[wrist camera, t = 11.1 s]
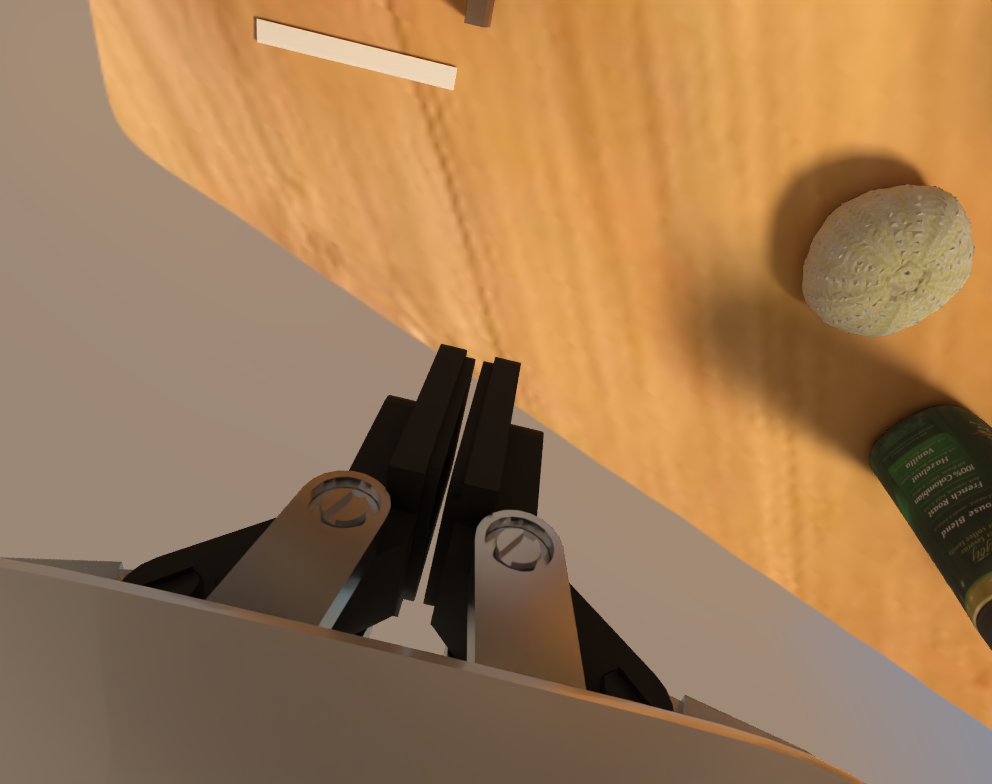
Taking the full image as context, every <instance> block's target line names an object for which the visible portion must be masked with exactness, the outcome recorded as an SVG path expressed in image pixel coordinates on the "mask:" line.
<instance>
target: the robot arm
mask: <svg viewBox="0 0 992 784" xmlns="http://www.w3.org/2000/svg"><path fill="white" fill-rule="evenodd" d="M466 355H467V350H465V349H461V348H457V347H453V346H448V345H444V344H441V345H440V348H439V350H438V352H437V355H436V357H435V359H434V362H433V364H432V366H431V369H430V371H429V373H428V376H427V378H426V380H425V383H424V385H423V387H422V389H421V392H420V394H419V396H418V399H417V401H412V400H409V399H404V398H400V397H396V396H392V395H389V396H387V398H386V400H385V401H384V403H383V405H382V407H381V409H380V411H379V413H378V415H377V417H376V419H375V421H374V423H373V425H372V427H371V429H370V431H369V433H368V434H367V437H366V438H365V440H364V442H363V444H362V446H361V448H360V450H359V452H358V454H357V456H356V458H355V460H354V462H353V464H352V466H351V468H350V470H349V471H334V472H329V473H324V474H322V475H320V476H317V477H315V478H313V479H312V480H311V481H309V482H308V483H307V484H306V485H305V486H303V488H302V489H301V490H300V491H299V492H298V494H297V495H296V496H295V497H294V498H293V499H292V500H291V501H290V503H289V504H288V505H287V506H286V507H285V508H284V510H283V511H282V512H281V513H280V514H279V515H278V516H277V518H274V519H271V520H268V521H265V522H262V523H259V524H256V525H253V526H250V527H247V528H244V529H241V530H238V531H235V532H232V533H229V534H226V535H223V536H220V537H217V538H214V539H211V540H208V541H205V542H202V543H199V544H196V545H193V546H190V547H187V548H184V549H181V550H178V551H175V552H172V553H169V554H166V555H163V556H160V557H157V558H155V559H152V560H150V561H148V562H146V563H144V564H141V565H140V566H138V567H137V568H136V569H134V570H126V569H125V570H124V569H123V565H122V562H113V561H85V560H57V559H30V558H2V557H0V784H866V783H864V782H862V781H861V780H859V779H858V778H856V777H854V776H852V775H851V774H849V773H847V772H845V771H843V770H841V769H839V768H837V767H835V766H832V765H830V764H829V763H827V762H824V761H822V760H820V759H818V758H816V757H815V756H813V755H812V754H810V753H809V752H807V751H805V750H803V749H801V748H799V747H797V746H795V745H793V744H790V743H788V742H786V741H784V740H782V739H780V738H778V737H775V736H773V735H771V734H769V733H766V732H764V731H762V730H760V729H758V728H756V727H754V726H751V725H749V724H747V723H745V722H743V721H741V720H739V719H736V718H734V717H732V716H730V715H728V714H726V713H723V712H721V711H719V710H717V709H715V708H712V707H710V706H708V705H706V704H704V703H702V702H700V701H697V700H695V699H693V698H691V697H689V696H687V695H685V696H684V697H683V699H682V700H681V701H680V700H678V699H676V698H674V697H671V696H669V695H668V693H667V690H666V689H665V687H664V686H663V684H662V683H661V682H660V680H659V679H658V678H657V676H656V675H655V674H654V673H653V672H652V671H651V670H650V669H649V668H648V666H647V665H646V664H645V663H644V662H643V661H642V660H641V659H640V658H639V657H638V656H637V655H636V654H635V653H634V652H633V651H632V649H631V648H630V647H629V646H628V645H627V644H626V643H625V642H624V641H623V640H622V639H621V638H620V637H619V635H618V634H617V633H616V632H615V631H614V630H613V629H612V628H611V627H610V626H609V625H608V624H607V623H606V622H605V621H604V619H602V617H601V616H600V615H599V614H598V613H597V612H596V611H595V610H594V609H593V608H592V607H591V606H590V604H589V603H587V602H586V600H585V599H584V598H583V597H582V596H581V595H580V594H579V593H578V592H577V591H576V590H575V589H574V587H573V586H572V585H571V584H570V583H569V580H568V573H567V567H566V561H565V555H564V548H563V545H562V542H561V540H560V537H559V536H558V534H557V533H556V532H555V531H554V529H553V528H552V527H551V526H550V525H549V524H547V523H546V522H545V521H544V520H542V519H540V518H539V517H537V509H538V497H539V484H540V473H541V460H542V449H543V434H544V433H543V432H541V431H538V430H533V429H529V428H525V427H521V426H516V425H513V424H511V419H512V413H513V407H514V401H515V395H516V389H517V383H518V377H519V371H520V366H521V363H519V362H515V361H511V360H506V359H502V358H498V357H495V361H494V363H489V362H485V361H484V362H483V365H482V369H481V372H480V376H479V379H478V383H477V387H476V390H475V394H474V398H473V401H472V405H471V408H470V412H469V415H468V419H467V422H466V426H465V430H464V433H463V437H462V440H461V444H460V447H459V451H458V454H457V458H456V461H455V465H454V469H453V472H452V476H451V481H450V485H449V489H448V493H447V497H446V502H445V507H444V511H443V515H442V521H441V525H440V529H439V534H438V538H437V543H436V548H435V552H434V557H433V561H432V566H431V570H430V575H429V580H428V585H427V589H426V593H425V598H424V604H427V605H431V606H435V607H434V611H433V615H432V620H431V625H432V626H433V628H434V629H435V630H436V632H437V633H438V635H439V636H440V637H441V639H442V640H443V642H444V643H445V645H446V646H445V650H444V655H443V656H442V655H438V654H434V653H429V652H425V651H421V650H417V649H413V648H408V647H403V646H400V645H396V644H391V643H387V642H383V641H378V640H374V639H370V635H371V632H372V627H373V625H375V624H377V623H379V622H381V621H383V620H385V619H387V618H389V617H391V616H396V617H398V614H399V611H400V608H401V604H402V601H403V599H406V600H411V601H414V600H415V597H416V593H417V590H418V586H419V582H420V579H421V576H422V572H423V568H424V565H425V562H426V558H427V554H428V551H429V547H430V544H431V540H432V537H433V533H434V530H435V526H436V523H437V519H438V515H439V512H440V509H441V505H442V501H443V498H444V495H445V491H446V488H447V484H448V481H449V477H450V473H451V469H452V465H453V461H454V457H455V452H456V448H457V443H458V438H459V433H460V429H461V424H462V420H463V416H464V411H465V406H466V402H467V397H468V392H469V388H470V383H471V378H472V374H473V370H474V365H475V359H473V358H469V357H466Z"/></svg>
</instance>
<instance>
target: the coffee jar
mask: <svg viewBox="0 0 992 784" xmlns="http://www.w3.org/2000/svg"><path fill="white" fill-rule="evenodd" d="M869 459H870V465H871V467H872V469H873V471H874V473H875V474H876V476H877V477H878V479H879V480H880V482H881V483H882V485H883V487H884V488H885V490H886V491H887V492H888V494H889V495H890V497H891V498H892V500H893V501H894V503H895V504H896V506H897V507H898V509H899V510H900V512H901V513H902V515H903V516H904V518H905V519H906V521H907V522H908V524H909V525H910V527H911V528H912V530H913V531H914V533H915V534H916V536H917V538H918V539H919V541H920V542H921V544H922V545H923V547H924V548H925V550H926V551H927V553H928V554H929V556H930V557H931V559H932V561H933V562H934V563H935V565H936V566H937V568H938V570H939V571H940V573H941V574H942V576H943V577H944V579H945V581H946V582H947V584H948V585H949V586H950V588H951V589H952V591H953V592H954V594H955V595H956V597H957V599H958V600H959V602H960V603H961V605H962V607H963V608H964V610H965V611H966V613H967V615H968V616H969V618H970V620H971V621H972V623H973V625H974V626H975V628H976V630H977V631H978V632H979V633H980V635H981V636H982V638H983V639H984V640H985V642H986V643H987V645H988V646H989V647H990V649H991V650H992V428H991V427H990V426H989V425H988V424H987V423H985V422H984V421H983V420H982V419H980V418H979V417H977V416H976V415H974V414H973V413H971V412H969V411H967V410H966V409H963V408H961V407H958V406H952V405H942V406H935V407H931V408H927V409H925V410H922V411H920V412H918V413H915V414H913V415H911V416H909V417H907V418H906V419H904V420H902V421H900V422H898V423H897V424H896V425H895V426H893V427H892V428H890V429H889V430H888V431H887V432H886V433H885V434H884V435H883V436H882V437H881V438H880V439H879V440H878V441H877V442H876V443H875V445H874V446H873V448H872V450H871V452H870V458H869Z"/></svg>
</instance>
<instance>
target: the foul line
mask: <svg viewBox="0 0 992 784" xmlns="http://www.w3.org/2000/svg"><path fill="white" fill-rule="evenodd" d="M257 42H259V43H263V44H267V45H271V46H275V47H279V48H283V49H287V50H291V51H296V52H300V53H304V54H308V55H312V56H316V57H320V58H324V59H328V60H332V61H336V62H340V63H344V64H348V65H352V66H357V67H361V68H365V69H369V70H373V71H377V72H381V73H385V74H389V75H393V76H397V77H401V78H405V79H409V80H413V81H418V82H422V83H426V84H430V85H434V86H438V87H442V88H446V89H450V90H454V85H455V79H456V72H457V68H456V67H452V66H448V65H444V64H440V63H436V62H432V61H428V60H424V59H420V58H416V57H412V56H408V55H403V54H399V53H395V52H391V51H387V50H383V49H379V48H375V47H371V46H367V45H363V44H359V43H355V42H351V41H347V40H343V39H339V38H334V37H330V36H326V35H322V34H318V33H314V32H310V31H306V30H302V29H298V28H294V27H290V26H286V25H282V24H278V23H274V22H270V21H266V20H261V19H257Z"/></svg>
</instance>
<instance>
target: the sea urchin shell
mask: <svg viewBox="0 0 992 784" xmlns="http://www.w3.org/2000/svg"><path fill="white" fill-rule="evenodd" d="M974 250H975V247H974V243H973V238H972V234H971V222H970V219H969V218H968V216H967V214H966V212H965V210H964V209H963V208H962V206H961V205H960V203H959V201H958V200H957V197H954V196H953V195H952V194H951V193H948V192H946V191H944V190H943V189H941V188H939V187H938V188H937V187H936V186H932V187H931V186H917V185H909V184H906V185H900V186H895V187H891V188H886V189H879V188H878V189H876V190H870V191H869V192H867V193H865V194H861V196H859V197H856V198H854V199H852V200H849V201H847V202H845V203H842V204H841V206H840V207H838V208H837V209H836V210H834V211H833V212H832V213H831V214H830V215H829V216H828V217H827V219H826V220H825V222H824V224H823V225H822V227H821V228H820V229H819V231H818V232H817V234H816V235H815V237H814V238H813V240H812V243H811V244H810V250H809V253H808V255H807V258H806V259H805V260H804V265H803V281H802V291H803V295H804V298H805V301H806V303H807V304H808V305H809V307H810V309H811V310H812V311H813V312H815V313H816V314H817V315H818V317H819V318H820V319H821V320H822V321H823V322H824V323H826V324H828V325H829V326H832V327H836V328H838V329H840V330H842V331H845V332H847V333H848V334H849V333H852V334H859V335H865V336H870V337H880V336H886V335H893V334H895V333H897V332H898V331H900V330H902V329H905V328H908V327H910V326H912V325H917V323H918V322H919V321H921V320H923V319H924V318H926V317H927V316H928V315H930V314H932V313H934V312H936V311H937V310H938V309H939V308H942V307H943V306H944V304H945V303H946V302H947V301H948V300H949V299H950V298H951V297H952V296H954V295H955V294H956V293H957V292H958V291H959V290H961V288H963V286H964V283H965V282H966V280H967V278H968V277H969V275H970V274H971V267H972V257H973V253H974Z"/></svg>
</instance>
